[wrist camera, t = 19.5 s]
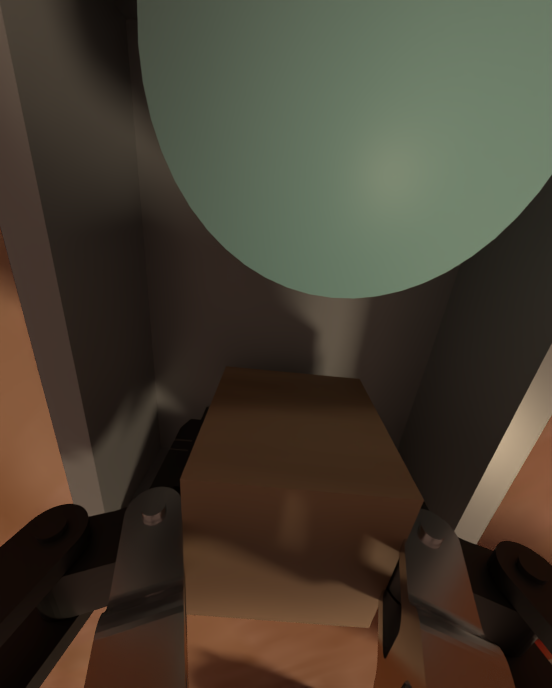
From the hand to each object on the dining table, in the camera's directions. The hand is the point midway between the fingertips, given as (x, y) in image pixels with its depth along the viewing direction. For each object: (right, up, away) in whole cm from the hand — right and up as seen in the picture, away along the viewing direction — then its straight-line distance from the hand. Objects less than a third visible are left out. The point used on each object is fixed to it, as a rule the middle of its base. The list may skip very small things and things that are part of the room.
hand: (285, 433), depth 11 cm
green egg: (+1, +9, -1) cm, 9 cm away
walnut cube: (0, 0, 0) cm, 0 cm away
